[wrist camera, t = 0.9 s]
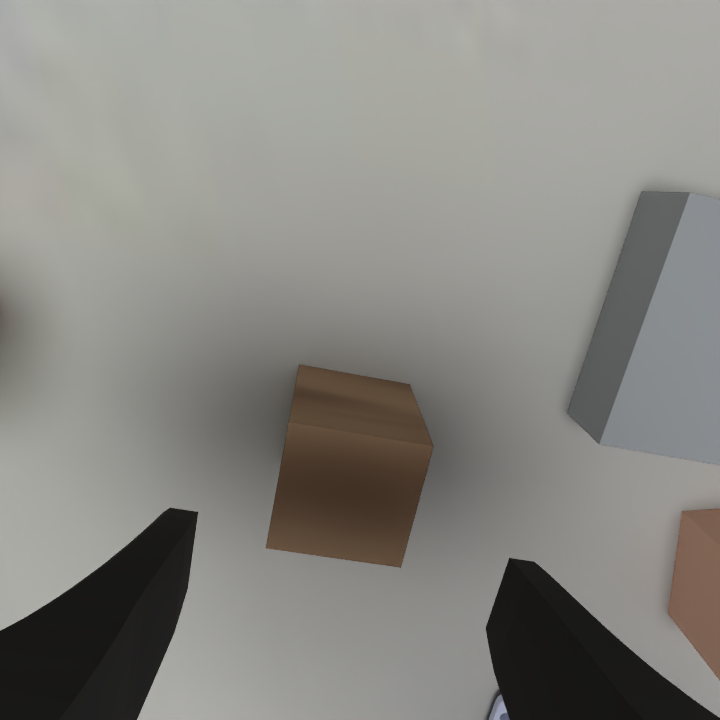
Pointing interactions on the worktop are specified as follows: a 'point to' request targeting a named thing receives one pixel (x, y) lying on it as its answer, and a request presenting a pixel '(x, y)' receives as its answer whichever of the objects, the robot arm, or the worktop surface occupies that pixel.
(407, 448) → the walnut block
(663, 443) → the slate slab
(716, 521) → the terracotta block
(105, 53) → the worktop surface
